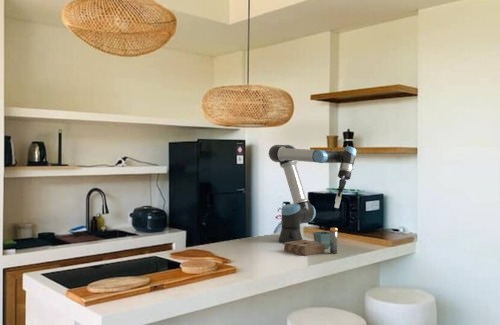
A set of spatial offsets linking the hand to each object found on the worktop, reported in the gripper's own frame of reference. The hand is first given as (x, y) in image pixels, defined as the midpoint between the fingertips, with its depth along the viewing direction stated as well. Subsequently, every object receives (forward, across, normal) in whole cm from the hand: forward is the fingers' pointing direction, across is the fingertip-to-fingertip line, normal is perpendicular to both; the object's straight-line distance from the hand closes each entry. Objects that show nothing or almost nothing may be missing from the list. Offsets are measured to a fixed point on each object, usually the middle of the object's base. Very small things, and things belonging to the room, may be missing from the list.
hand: (336, 205), depth 279 cm
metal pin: (+28, -3, -5) cm, 29 cm away
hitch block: (+32, -4, +11) cm, 34 cm away
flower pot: (+25, +10, +2) cm, 27 cm away
